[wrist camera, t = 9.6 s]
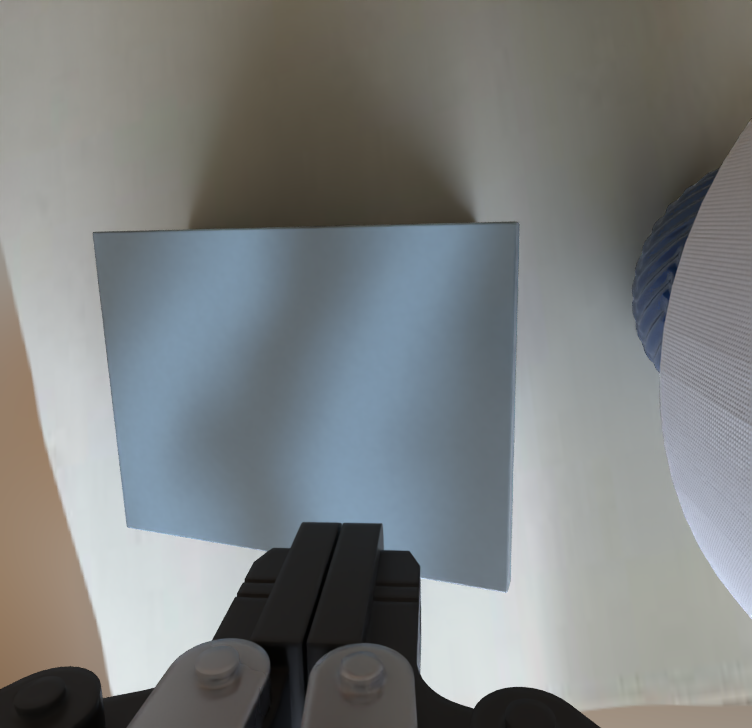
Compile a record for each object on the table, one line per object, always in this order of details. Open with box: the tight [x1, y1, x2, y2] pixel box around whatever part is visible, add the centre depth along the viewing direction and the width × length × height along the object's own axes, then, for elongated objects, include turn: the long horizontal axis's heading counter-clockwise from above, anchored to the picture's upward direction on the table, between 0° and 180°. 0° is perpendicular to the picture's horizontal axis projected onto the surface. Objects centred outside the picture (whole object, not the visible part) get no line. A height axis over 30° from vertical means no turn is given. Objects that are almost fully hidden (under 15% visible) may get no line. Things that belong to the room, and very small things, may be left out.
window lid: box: [93, 222, 520, 593], centre depth 24 cm, size 16×13×1 cm
